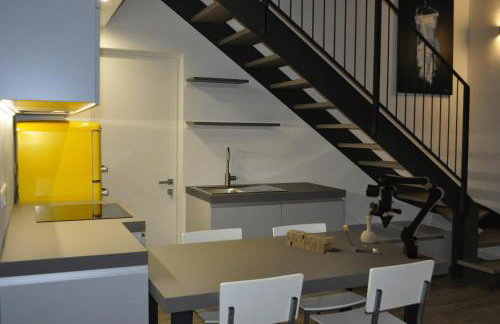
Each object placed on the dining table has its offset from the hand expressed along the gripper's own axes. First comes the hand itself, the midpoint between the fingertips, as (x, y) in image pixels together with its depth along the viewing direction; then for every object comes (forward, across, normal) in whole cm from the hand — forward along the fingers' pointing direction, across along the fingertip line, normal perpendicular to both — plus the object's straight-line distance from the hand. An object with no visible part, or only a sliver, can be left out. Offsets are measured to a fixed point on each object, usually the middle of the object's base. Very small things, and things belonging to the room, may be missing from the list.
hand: (385, 228), depth 270 cm
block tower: (+14, +27, -28) cm, 42 cm away
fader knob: (+12, +6, -7) cm, 15 cm away
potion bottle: (+13, -10, -20) cm, 26 cm away
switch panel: (+13, +10, -4) cm, 17 cm away
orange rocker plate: (+10, +14, -8) cm, 20 cm away
